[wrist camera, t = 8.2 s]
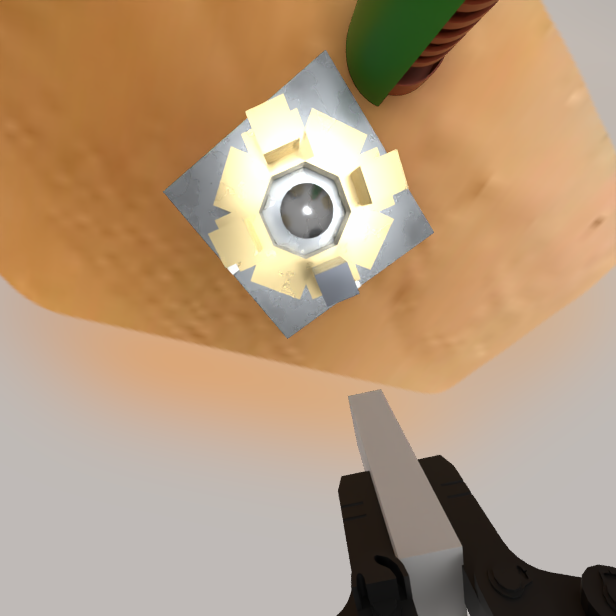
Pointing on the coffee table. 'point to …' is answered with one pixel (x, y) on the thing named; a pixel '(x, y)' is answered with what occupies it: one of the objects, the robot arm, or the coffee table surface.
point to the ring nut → (326, 161)
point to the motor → (405, 41)
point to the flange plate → (299, 198)
